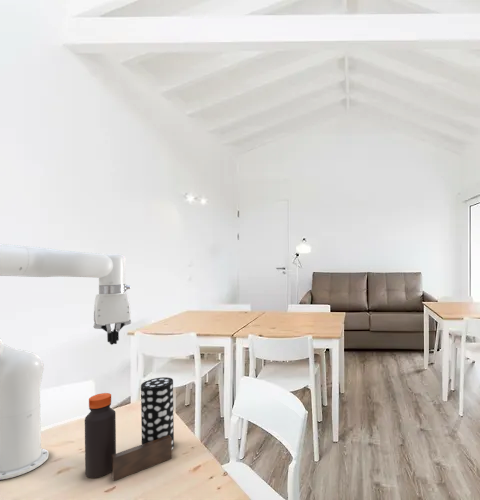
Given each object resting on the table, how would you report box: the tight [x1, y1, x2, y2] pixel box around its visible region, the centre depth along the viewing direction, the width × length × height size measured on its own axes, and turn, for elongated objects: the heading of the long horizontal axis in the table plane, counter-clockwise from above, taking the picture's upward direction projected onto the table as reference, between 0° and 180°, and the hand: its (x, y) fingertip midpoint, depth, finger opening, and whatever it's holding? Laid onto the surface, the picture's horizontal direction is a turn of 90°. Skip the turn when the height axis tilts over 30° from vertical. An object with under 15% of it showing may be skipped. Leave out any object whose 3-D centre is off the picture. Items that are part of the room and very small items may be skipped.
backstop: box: [111, 435, 173, 482], centre depth 96 cm, size 14×2×6 cm, turn 134°
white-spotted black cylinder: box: [140, 376, 175, 450], centre depth 104 cm, size 8×8×20 cm
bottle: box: [84, 392, 117, 479], centre depth 95 cm, size 7×7×20 cm
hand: (113, 343), depth 121 cm, fingers closed
